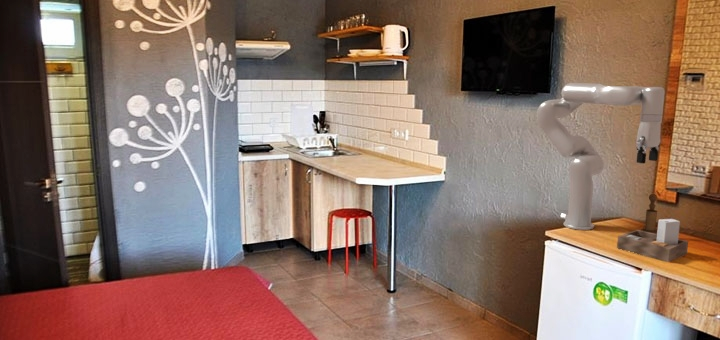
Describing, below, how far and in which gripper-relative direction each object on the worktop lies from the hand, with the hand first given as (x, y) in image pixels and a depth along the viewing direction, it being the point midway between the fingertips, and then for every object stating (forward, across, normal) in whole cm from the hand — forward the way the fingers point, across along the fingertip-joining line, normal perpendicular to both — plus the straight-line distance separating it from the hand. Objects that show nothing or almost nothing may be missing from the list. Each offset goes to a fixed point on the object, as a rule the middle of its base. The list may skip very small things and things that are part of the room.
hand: (646, 161), depth 214 cm
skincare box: (+32, +10, +15) cm, 36 cm away
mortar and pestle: (+32, -8, 0) cm, 33 cm away
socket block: (+32, +11, +10) cm, 36 cm away
